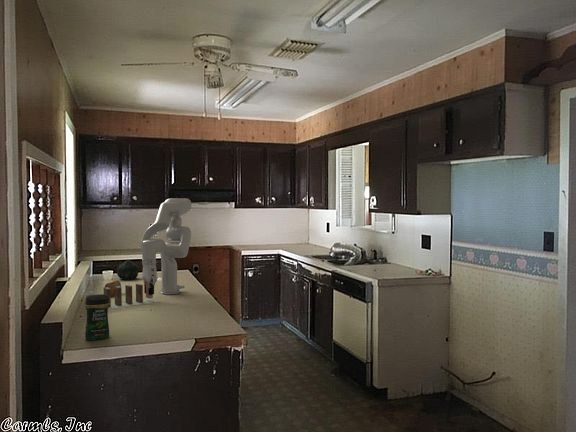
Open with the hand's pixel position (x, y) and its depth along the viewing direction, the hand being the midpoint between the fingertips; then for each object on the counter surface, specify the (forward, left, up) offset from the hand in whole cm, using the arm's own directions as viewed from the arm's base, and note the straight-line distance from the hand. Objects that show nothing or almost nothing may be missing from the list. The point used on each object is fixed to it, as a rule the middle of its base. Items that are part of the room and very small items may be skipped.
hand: (149, 293), depth 279 cm
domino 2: (+18, 0, -4) cm, 18 cm away
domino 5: (0, 0, -2) cm, 2 cm away
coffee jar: (+47, +55, -5) cm, 72 cm away
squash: (-19, -81, -5) cm, 84 cm away
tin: (+10, -31, -5) cm, 33 cm away
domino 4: (+6, 0, -4) cm, 7 cm away
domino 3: (+12, 0, -4) cm, 13 cm away
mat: (+13, 0, -5) cm, 14 cm away
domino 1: (+24, 0, -4) cm, 24 cm away
